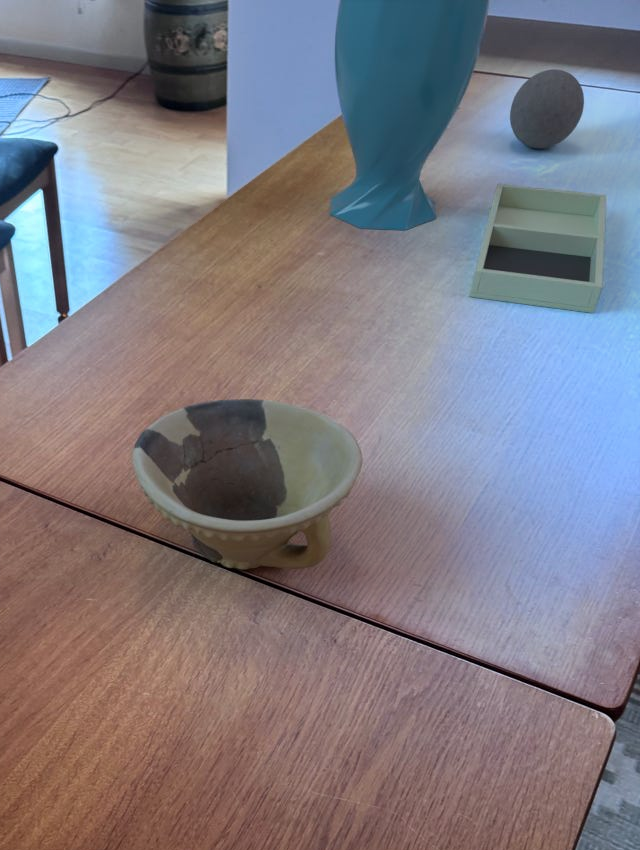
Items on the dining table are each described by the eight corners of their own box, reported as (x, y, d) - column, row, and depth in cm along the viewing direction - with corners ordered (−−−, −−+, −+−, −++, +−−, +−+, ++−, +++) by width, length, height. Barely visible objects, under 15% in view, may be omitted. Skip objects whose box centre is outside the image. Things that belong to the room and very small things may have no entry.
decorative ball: (489, 140, 139) (506, 65, 131) (545, 131, 141) (564, 57, 133) (527, 162, 132) (548, 85, 125) (585, 152, 134) (608, 76, 127)
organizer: (598, 219, 118) (606, 194, 116) (593, 313, 102) (602, 286, 99) (491, 207, 122) (497, 183, 119) (468, 296, 105) (475, 270, 103)
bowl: (390, 540, 76) (411, 445, 69) (247, 653, 68) (254, 558, 61) (235, 454, 85) (240, 362, 78) (91, 545, 77) (82, 451, 70)
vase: (314, 231, 118) (342, -55, 96) (321, 180, 129) (348, -86, 108) (450, 238, 116) (511, -54, 94) (445, 185, 127) (499, -86, 105)
